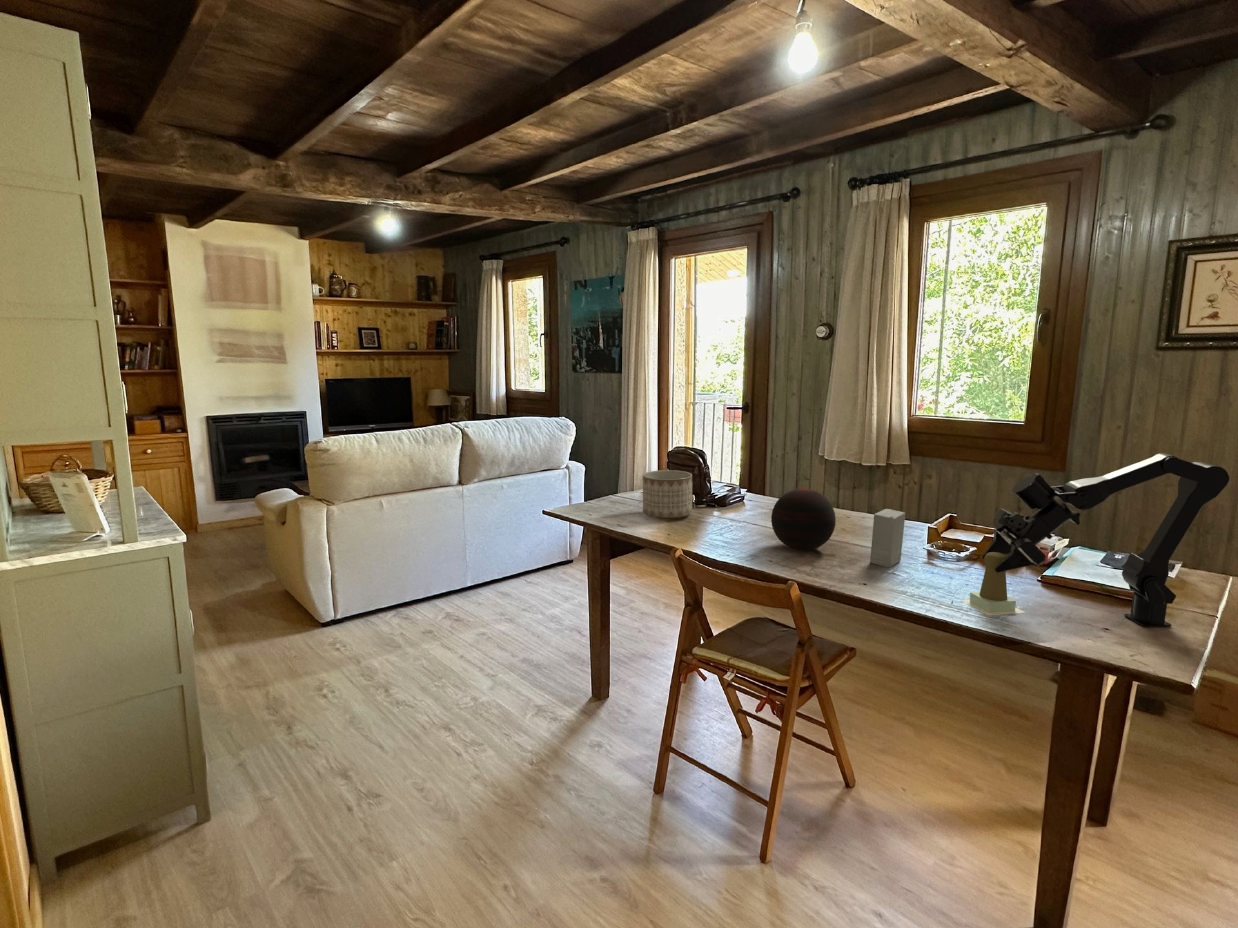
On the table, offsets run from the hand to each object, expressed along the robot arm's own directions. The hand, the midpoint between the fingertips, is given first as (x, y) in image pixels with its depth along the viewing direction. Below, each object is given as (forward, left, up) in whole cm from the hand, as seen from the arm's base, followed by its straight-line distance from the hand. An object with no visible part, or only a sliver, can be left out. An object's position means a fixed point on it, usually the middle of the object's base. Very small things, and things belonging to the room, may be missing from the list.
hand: (989, 564), depth 162 cm
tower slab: (0, -1, -12) cm, 12 cm away
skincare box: (+38, +11, -12) cm, 41 cm away
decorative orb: (+52, +33, -12) cm, 62 cm away
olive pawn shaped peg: (0, -1, -8) cm, 8 cm away
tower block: (0, -1, -11) cm, 11 cm away
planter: (+97, +75, -12) cm, 123 cm away
